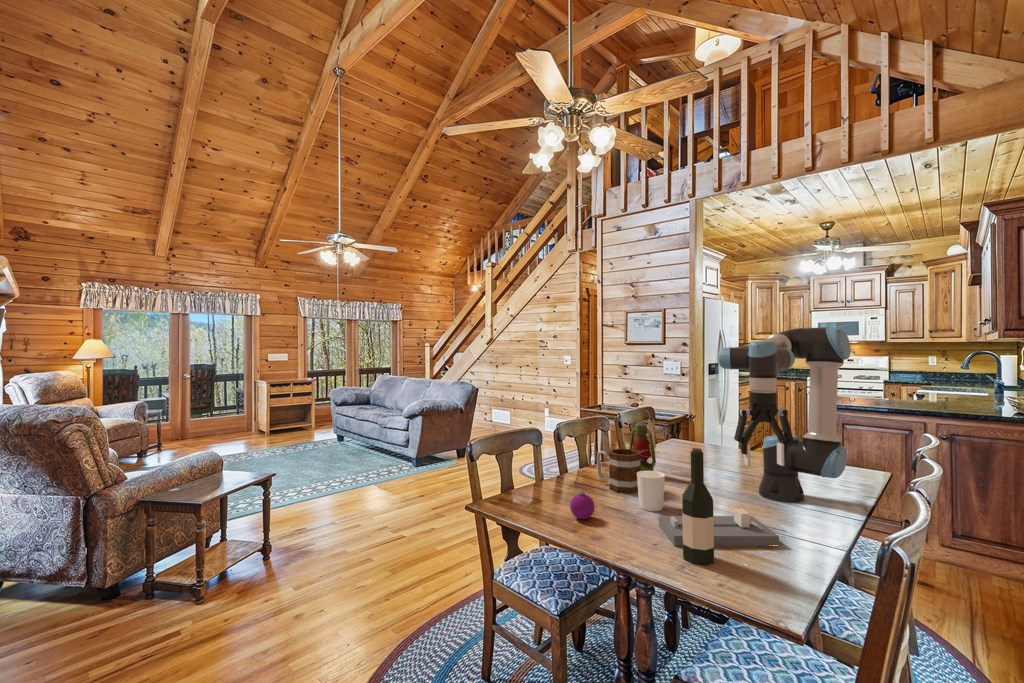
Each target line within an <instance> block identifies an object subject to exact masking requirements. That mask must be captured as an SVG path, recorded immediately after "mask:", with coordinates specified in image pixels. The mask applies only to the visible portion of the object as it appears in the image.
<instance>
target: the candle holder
mask: <svg viewBox="0 0 1024 683" xmlns="http://www.w3.org/2000/svg"><path fill="white" fill-rule="evenodd" d="M665 478H666V475H665V473H663V472H660V471H655V470H653V471H639V472H637V483H638V493H637V495H638V497H637V498H638V505H639V509H642V510H643V511H646V512H647V511H648V512H659V511H662V510H663V509H664V502H665V501H664V500H665V499H664V498H665V483H666V482H665V481H666V480H665Z"/></svg>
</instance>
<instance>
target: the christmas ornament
mask: <svg viewBox="0 0 1024 683" xmlns="http://www.w3.org/2000/svg"><path fill="white" fill-rule="evenodd" d="M569 509H570V512H571V514H572V515H573V516H574V517H575V518H576V519H579V520H588V519H589V518H591V516H592V515H593V514H594V511H595V503H594V500H593V499H592V498H591V497H590V496H589V495H588V494H586V492H585V490H584V489H583V488H581V489H580V490H579V493H578V494H576V495H574V496H573V497H572V499H571V501H570V504H569Z"/></svg>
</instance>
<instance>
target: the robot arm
mask: <svg viewBox="0 0 1024 683" xmlns="http://www.w3.org/2000/svg"><path fill="white" fill-rule="evenodd" d="M848 336H849V335H847V332H846V331H845V330H844V329H843V328H841V327H835V326H834V327H832V326H826V327H823V326H822V327H805V328H802V327H797V328H792V329H788V330H784V331H781V332H776V333H773V334H771V335H769V336H768V337H767V338H764V339H762V340H759V341H750V343H748V344H744V345H740V346H737V347H732V346H729V347H723V348H722V347H721V349H720V350H719V352H718V356H717V358H718V359H717V362H718V365H719V366H720V367H721V368H722V369H723V370H731V371H732V370H740V371H741V370H742V371H743V370H748V371H749V372H748V386H749V387H748V388H749V390H750V392H749V394H748V395H749V398H748V400H749V407H748V408H746V409H743V408H742V409H741V408H740V409H739V410H738V414H739V417H738V421H737V425H736V429H735V434H734V437H733V438H734V441H736V442H738V443H740V452H741V455H743V464H744V465H746V466H749V467H751V465H752V464H751V443H748V442H750V440H751V439H750V438H752V435H753V434H754V431H755V430H756V427H758V425H759V424H760V423H768V424H769V425H770V427H771V429H772V430H773V432H774V434H773V435H768V436H765V437H764V438H763V444H762V458H763V474H762V477H761V479H760V483H759V486H758V494H759V495H760V496H762V497H764V498H767V499H769V500H774V501H779V502H787V503H788V502H789V503H792V502H793V503H794V502H795V503H796V502H802V501H804V500H805V492H804V490H803V487H802V484H801V481H800V478H799V473H803V474H808V475H813V476H818V477H822V478H830V479H837V478H839V477H841V475H842V474H843V472H844V471H845V469H846V466H847V461H848V453H847V452H848V450H847V448H846V447H845V446H843V445H842V444H841V443H842V441H841V439H840V438H839V437H838V436H837V417H838V416H837V410H838V383H839V381H838V380H839V379H838V378H839V369H840V368H841V367H842V366H843V365H844V361H846V360H848V359H849V358H850V356H851V355H850V354H851V344H850V339H849V337H848ZM796 359H805V364H806V365H807V366H808V367H809V391H808V415H807V417H808V420H807V433H805V434H804V435H802V440H800V439H799V438H798V436H797V435H794V434H793V432H792V430H791V426H790V423H789V422H790V421H789V419H788V416H789V415H788V413H789V411H788V410H787V409H785V408H784V409H783V408H780V409H779V408H778V393H777V392H776V391H777V390H778V384H777V383H778V379H777V378H778V377H777V374H778V373H777V372H778V371H779V372H784V371H787V370H789V369H791V368H792V367H793V366H794V364H795V361H796ZM749 414H750V416H751V417H750V419H749V422H748V425H747V426H746V424H747V420H748V417H749ZM777 415H778V416H779V422H780V424H781V427H780V425H779V422H778V420H777V419H776V416H777ZM781 428H782V429H781Z"/></svg>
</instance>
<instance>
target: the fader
mask: <svg viewBox="0 0 1024 683" xmlns="http://www.w3.org/2000/svg"><path fill="white" fill-rule="evenodd" d="M733 516H734V521H735V522H736V523H737V524H738V525H739V526H740V527H750V524H749V516H750V513H749V512H748V511H746V510H745V509H743V508H741V507H740V508H739V507H737V508H733Z"/></svg>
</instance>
